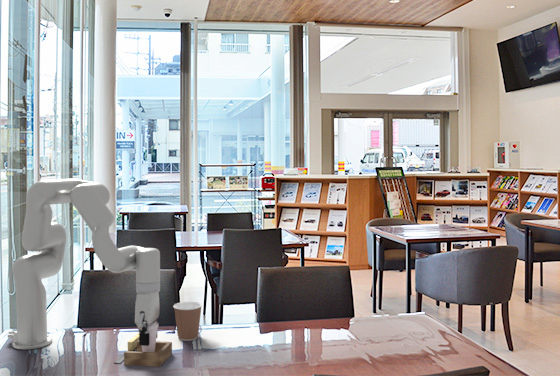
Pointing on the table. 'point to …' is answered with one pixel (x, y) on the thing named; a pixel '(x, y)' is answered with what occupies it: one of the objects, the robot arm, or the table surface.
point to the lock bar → (133, 343)
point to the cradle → (147, 355)
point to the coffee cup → (187, 320)
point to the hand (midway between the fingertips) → (148, 341)
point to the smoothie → (151, 337)
